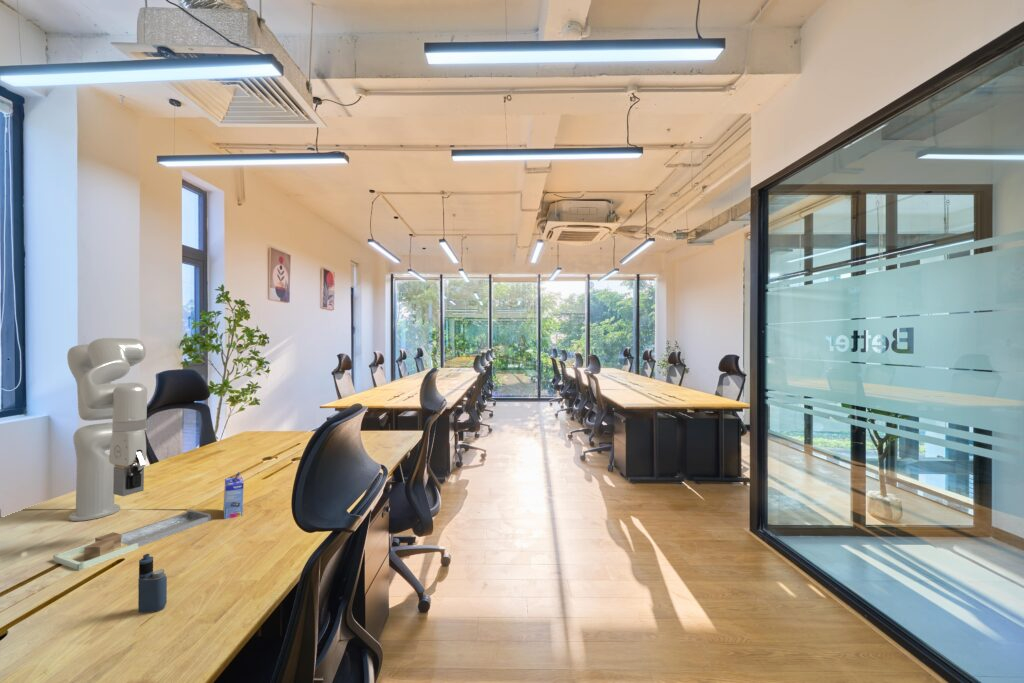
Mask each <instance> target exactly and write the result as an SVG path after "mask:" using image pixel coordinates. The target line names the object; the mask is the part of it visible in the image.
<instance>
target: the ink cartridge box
mask: <svg viewBox="0 0 1024 683" xmlns="http://www.w3.org/2000/svg"><path fill="white" fill-rule="evenodd" d="M240 474H241V473H240V472H239V471H238V472H237V474H236V475H235V477H228V478H225V479H224V490H223V492H224V494H223V510H222V511H223V512H222V513H223V519H224V520H227V519H232V518H238V517H242V516H243V513H244V512H243V509H244V507H243V506H244V484H245V483H244V480H243V476H240Z"/></svg>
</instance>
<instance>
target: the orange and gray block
mask: <svg viewBox="0 0 1024 683" xmlns="http://www.w3.org/2000/svg"><path fill="white" fill-rule="evenodd" d="M133 464H137V463H136V462H133ZM131 465H132V464H131ZM135 467H137V466H133V467H132V468H133V469H134V468H135ZM127 476H129V472H128V467H123V466H118V465H115V467H114V481H113V494H114V496H115V495H116V496H121V497H126V496H129V495H133V494H136V493H141V492H144V491H145V488H144V487H145V486H144V485H145V467H144V468H143V470H142V473H141V486H140V487H137V488H133V489H127Z"/></svg>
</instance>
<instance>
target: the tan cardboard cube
mask: <svg viewBox="0 0 1024 683" xmlns="http://www.w3.org/2000/svg"><path fill="white" fill-rule="evenodd" d="M121 534H122V533H118V532H114V531H112V532H109V533H107V534H104V535H101V536H98V537H95V540H94V542H97V541H102V540H114V550H115V549H117V548H118V549H119V548H120V547H122V543H121Z"/></svg>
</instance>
